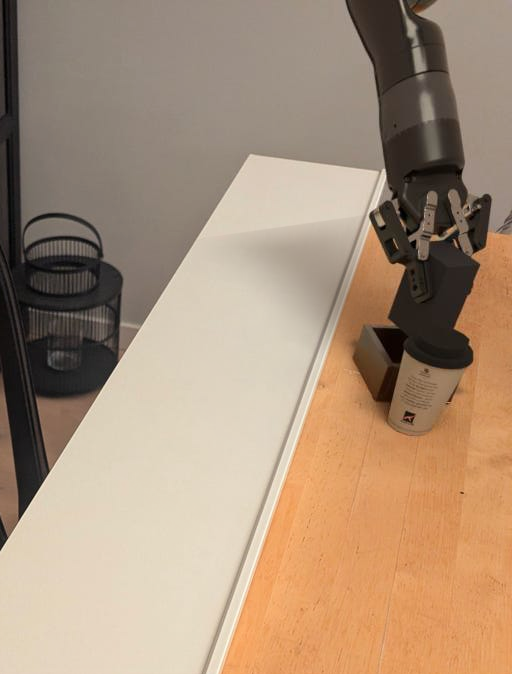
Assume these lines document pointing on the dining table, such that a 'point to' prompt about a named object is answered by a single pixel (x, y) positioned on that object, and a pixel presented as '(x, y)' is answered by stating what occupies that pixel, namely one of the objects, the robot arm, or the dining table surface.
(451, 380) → the coffee cup
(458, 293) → the black rectangular block
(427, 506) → the dining table surface
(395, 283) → the dining table surface
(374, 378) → the open box
